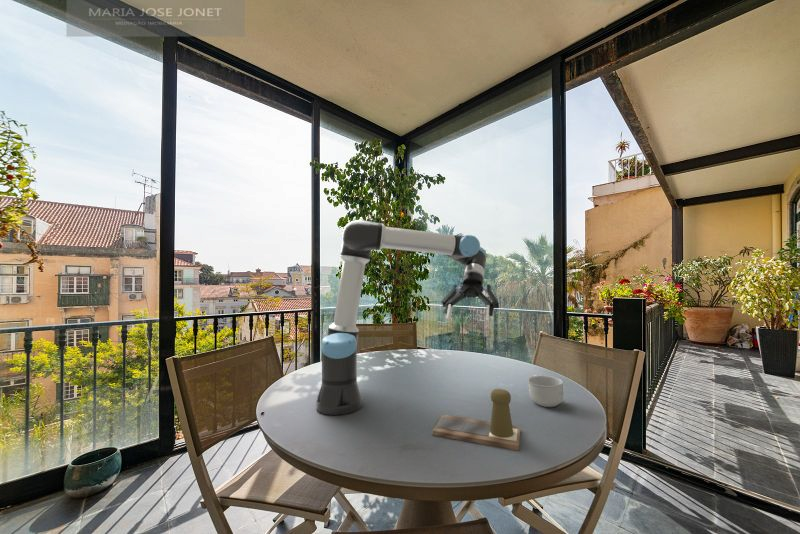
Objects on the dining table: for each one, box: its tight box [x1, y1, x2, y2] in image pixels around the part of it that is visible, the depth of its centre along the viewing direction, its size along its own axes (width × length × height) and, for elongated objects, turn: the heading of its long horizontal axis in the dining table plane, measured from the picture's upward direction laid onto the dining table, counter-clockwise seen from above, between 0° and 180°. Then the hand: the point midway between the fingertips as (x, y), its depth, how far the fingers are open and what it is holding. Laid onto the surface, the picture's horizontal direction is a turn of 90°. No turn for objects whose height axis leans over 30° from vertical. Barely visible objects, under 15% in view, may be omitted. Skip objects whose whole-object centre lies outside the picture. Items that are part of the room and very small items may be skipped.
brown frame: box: [432, 414, 521, 451], centre depth 88 cm, size 22×11×1 cm, turn 68°
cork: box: [490, 388, 513, 438], centre depth 86 cm, size 6×6×11 cm
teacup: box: [527, 374, 564, 408], centre depth 109 cm, size 14×11×8 cm
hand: (466, 321), depth 110 cm, fingers open, 13 cm apart
